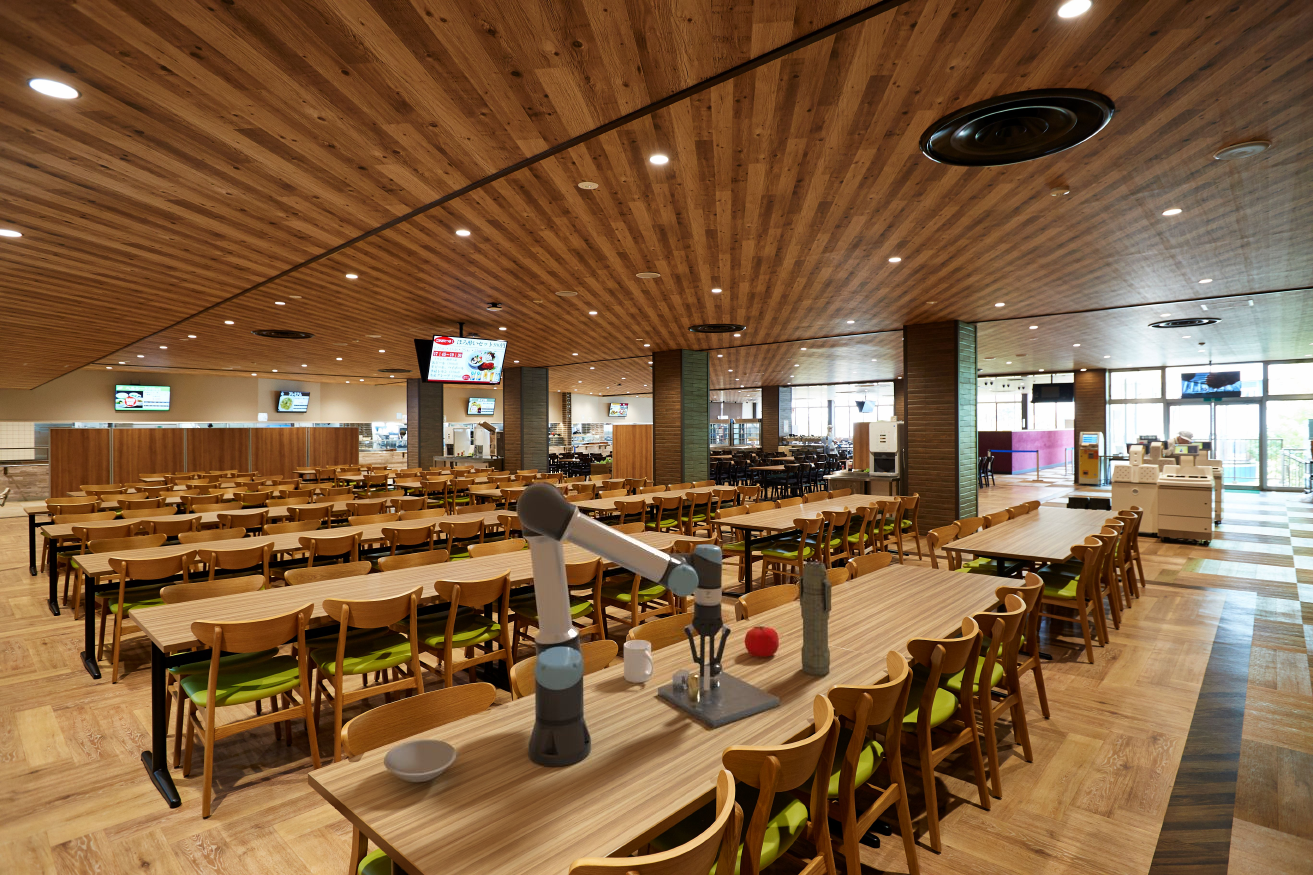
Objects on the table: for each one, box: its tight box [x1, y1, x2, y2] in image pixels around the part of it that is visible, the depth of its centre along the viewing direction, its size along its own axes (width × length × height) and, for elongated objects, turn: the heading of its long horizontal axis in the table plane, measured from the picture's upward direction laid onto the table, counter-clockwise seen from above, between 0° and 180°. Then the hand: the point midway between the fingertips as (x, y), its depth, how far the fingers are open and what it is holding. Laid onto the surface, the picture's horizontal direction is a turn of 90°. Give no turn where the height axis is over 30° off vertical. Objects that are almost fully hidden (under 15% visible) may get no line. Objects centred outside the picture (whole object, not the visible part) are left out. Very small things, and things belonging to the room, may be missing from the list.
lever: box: [689, 662, 723, 702], centre depth 179 cm, size 5×19×7 cm, turn 153°
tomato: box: [744, 625, 780, 658], centre depth 216 cm, size 11×13×10 cm
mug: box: [623, 639, 654, 684], centre depth 195 cm, size 9×12×11 cm
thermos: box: [798, 561, 832, 677], centre depth 200 cm, size 9×12×35 cm
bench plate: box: [657, 668, 781, 729], centre depth 179 cm, size 24×26×6 cm
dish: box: [383, 738, 457, 783], centre depth 139 cm, size 18×14×5 cm
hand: (706, 687), depth 170 cm, fingers closed
